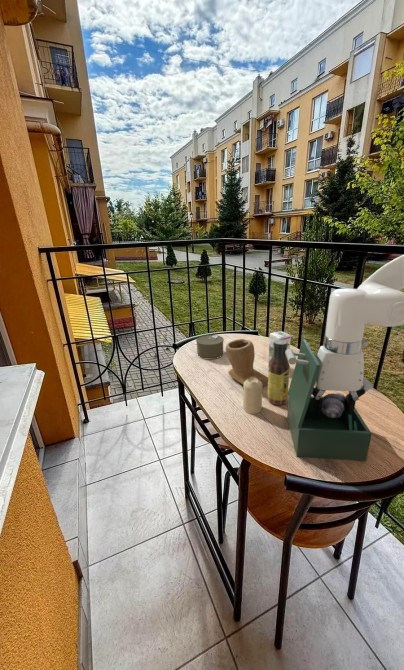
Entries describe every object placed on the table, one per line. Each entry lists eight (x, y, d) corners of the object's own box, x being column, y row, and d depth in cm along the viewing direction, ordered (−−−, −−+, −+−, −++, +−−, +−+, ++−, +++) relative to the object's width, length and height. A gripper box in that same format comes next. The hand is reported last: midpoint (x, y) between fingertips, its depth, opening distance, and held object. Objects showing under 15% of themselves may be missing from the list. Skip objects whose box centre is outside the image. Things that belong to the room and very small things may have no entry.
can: (191, 355, 124) (190, 341, 121) (206, 346, 133) (206, 333, 131) (214, 361, 117) (214, 346, 115) (228, 351, 126) (228, 337, 124)
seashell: (330, 405, 75) (329, 429, 66) (318, 389, 74) (316, 411, 66) (349, 397, 72) (351, 422, 63) (337, 381, 72) (337, 403, 63)
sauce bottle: (286, 407, 85) (291, 347, 78) (265, 404, 87) (268, 345, 80) (287, 396, 91) (292, 339, 84) (268, 393, 93) (271, 337, 86)
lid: (305, 339, 72) (284, 336, 72) (320, 365, 58) (294, 361, 58) (290, 393, 78) (271, 390, 78) (301, 428, 64) (277, 424, 64)
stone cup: (220, 375, 106) (219, 338, 100) (246, 368, 111) (246, 332, 105) (243, 394, 93) (243, 353, 88) (271, 385, 98) (273, 345, 93)
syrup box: (289, 369, 108) (291, 334, 103) (277, 373, 106) (279, 337, 101) (279, 364, 113) (281, 330, 108) (267, 367, 110) (269, 333, 105)
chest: (344, 421, 78) (348, 397, 76) (366, 461, 65) (371, 433, 62) (287, 418, 80) (288, 395, 78) (296, 456, 67) (299, 429, 64)
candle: (259, 415, 82) (261, 385, 79) (241, 411, 84) (241, 382, 81) (262, 404, 87) (264, 376, 84) (245, 401, 89) (245, 374, 86)
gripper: (375, 338, 66) (363, 403, 72) (299, 337, 68) (294, 401, 74) (392, 351, 59) (377, 422, 65) (306, 350, 61) (299, 418, 67)
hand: (332, 410), depth 69 cm, fingers closed on seashell, 6 cm apart
